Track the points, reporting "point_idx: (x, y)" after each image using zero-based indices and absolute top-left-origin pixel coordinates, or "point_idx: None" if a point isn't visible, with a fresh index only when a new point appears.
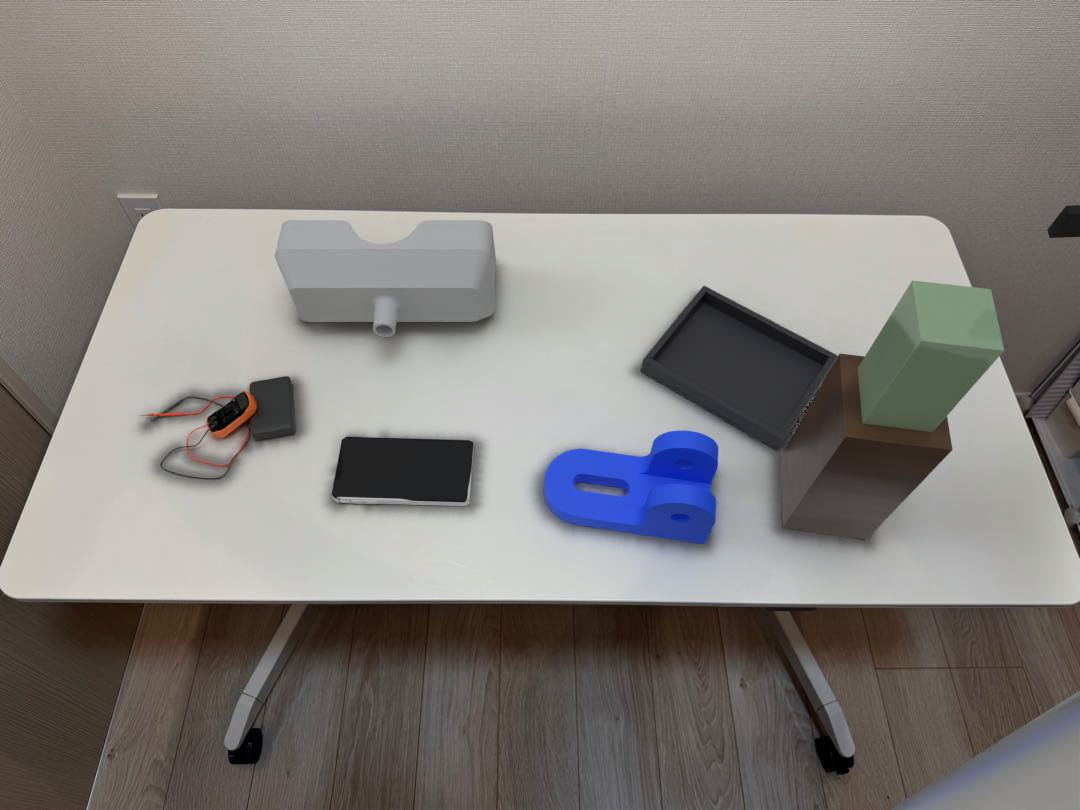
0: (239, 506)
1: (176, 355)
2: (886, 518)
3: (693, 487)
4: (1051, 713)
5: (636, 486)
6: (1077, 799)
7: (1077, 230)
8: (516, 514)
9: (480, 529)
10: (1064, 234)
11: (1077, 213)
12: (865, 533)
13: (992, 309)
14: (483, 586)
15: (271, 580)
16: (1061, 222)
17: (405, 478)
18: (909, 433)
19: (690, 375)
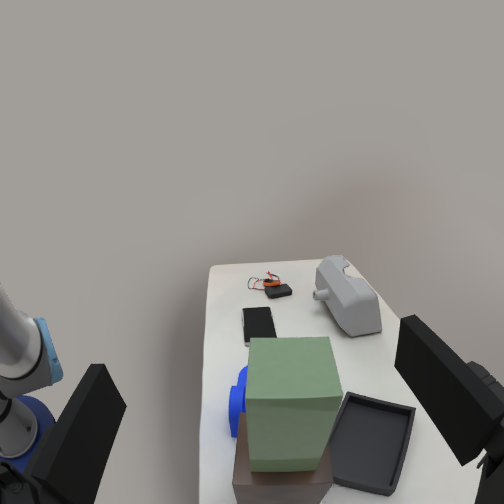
0: (238, 293)
1: (294, 272)
2: None
3: (241, 396)
4: None
5: None
6: None
7: (411, 373)
8: (242, 361)
9: (234, 351)
10: (402, 370)
11: (407, 325)
12: None
13: (309, 394)
14: (207, 354)
15: (211, 304)
16: (399, 336)
17: (253, 324)
18: (247, 454)
19: (350, 421)
